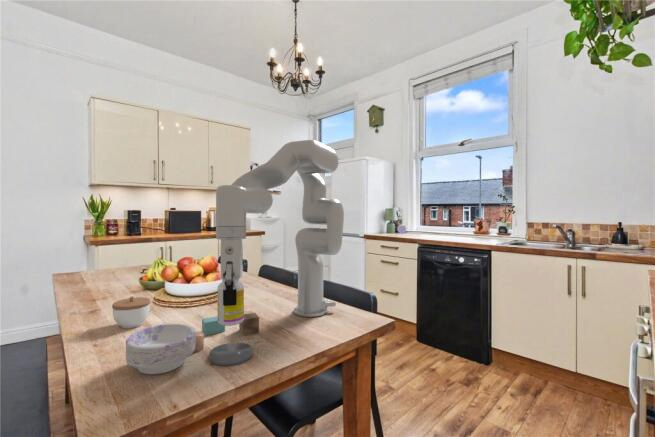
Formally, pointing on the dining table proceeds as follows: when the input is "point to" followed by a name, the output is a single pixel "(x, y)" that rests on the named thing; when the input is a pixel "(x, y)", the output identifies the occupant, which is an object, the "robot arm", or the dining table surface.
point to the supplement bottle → (234, 312)
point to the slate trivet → (231, 354)
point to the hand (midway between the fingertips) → (231, 300)
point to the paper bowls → (160, 347)
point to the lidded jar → (131, 311)
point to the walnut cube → (249, 324)
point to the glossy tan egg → (199, 341)
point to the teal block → (212, 326)
